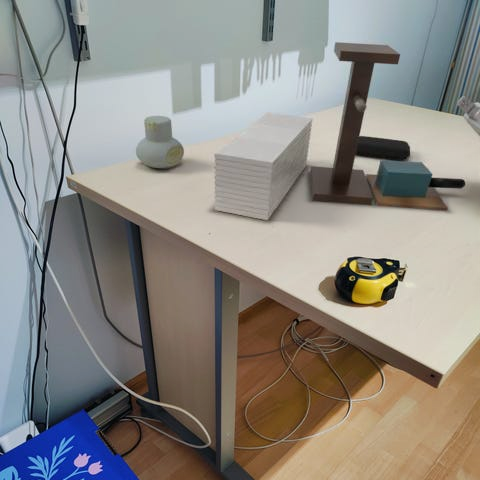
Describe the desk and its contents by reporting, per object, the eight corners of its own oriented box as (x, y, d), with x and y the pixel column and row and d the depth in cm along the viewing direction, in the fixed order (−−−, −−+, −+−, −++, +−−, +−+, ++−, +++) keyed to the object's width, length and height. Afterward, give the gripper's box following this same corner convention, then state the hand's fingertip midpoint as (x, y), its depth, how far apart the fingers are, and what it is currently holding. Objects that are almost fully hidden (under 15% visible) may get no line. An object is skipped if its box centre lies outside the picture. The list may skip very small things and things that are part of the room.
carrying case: (408, 150, 114) (353, 143, 117) (411, 138, 113) (355, 132, 115) (408, 163, 107) (349, 155, 109) (412, 151, 105) (352, 143, 107)
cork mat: (426, 180, 98) (427, 178, 97) (446, 210, 85) (447, 207, 85) (365, 176, 98) (366, 174, 98) (376, 205, 86) (377, 202, 86)
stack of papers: (267, 220, 79) (272, 162, 72) (214, 210, 81) (214, 153, 74) (306, 165, 102) (312, 118, 95) (264, 159, 105) (267, 112, 98)
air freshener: (161, 154, 104) (158, 111, 98) (189, 161, 101) (187, 117, 95) (131, 167, 97) (126, 121, 91) (160, 175, 94) (156, 128, 88)
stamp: (455, 186, 94) (463, 164, 91) (467, 199, 89) (477, 176, 85) (374, 182, 94) (380, 160, 91) (382, 195, 88) (388, 172, 85)
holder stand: (361, 174, 99) (390, 43, 83) (372, 207, 85) (410, 57, 69) (309, 170, 100) (328, 39, 83) (312, 202, 86) (336, 53, 69)
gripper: (524, 180, 78) (472, 136, 74) (484, 145, 94) (440, 108, 90) (557, 150, 74) (504, 103, 70) (510, 120, 90) (465, 80, 86)
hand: (468, 105), depth 80 cm, fingers open, 8 cm apart
